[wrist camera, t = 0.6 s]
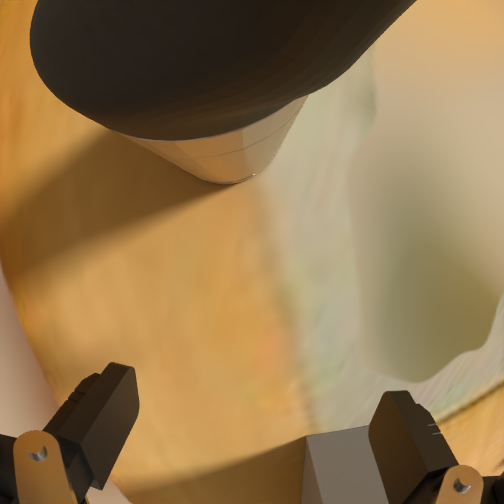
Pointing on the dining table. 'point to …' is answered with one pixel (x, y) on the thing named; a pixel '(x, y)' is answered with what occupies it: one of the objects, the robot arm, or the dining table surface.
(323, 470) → the stand
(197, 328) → the dining table surface
